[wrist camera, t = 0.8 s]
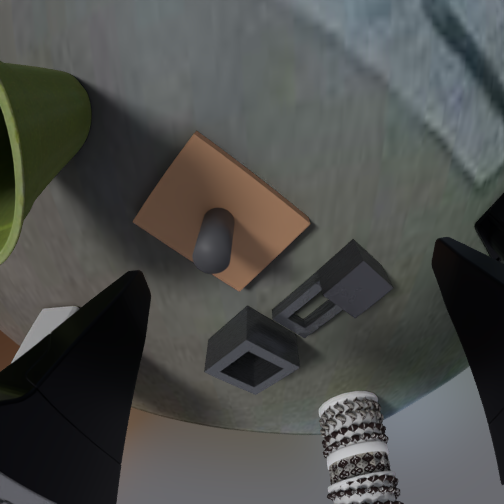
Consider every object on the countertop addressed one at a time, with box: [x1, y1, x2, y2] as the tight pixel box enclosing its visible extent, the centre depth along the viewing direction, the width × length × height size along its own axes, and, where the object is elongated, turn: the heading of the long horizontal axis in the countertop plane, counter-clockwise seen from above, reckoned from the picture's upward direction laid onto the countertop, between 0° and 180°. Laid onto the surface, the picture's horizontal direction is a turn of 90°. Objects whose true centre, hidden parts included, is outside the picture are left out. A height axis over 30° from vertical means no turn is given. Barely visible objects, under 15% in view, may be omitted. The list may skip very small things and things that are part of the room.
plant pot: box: [0, 61, 91, 265], centre depth 13 cm, size 12×12×11 cm
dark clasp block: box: [272, 239, 393, 338], centre depth 25 cm, size 4×10×3 cm, turn 140°
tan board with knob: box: [133, 131, 310, 292], centre depth 21 cm, size 10×8×6 cm
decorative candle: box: [319, 391, 404, 504], centre depth 28 cm, size 9×9×25 cm
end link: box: [204, 306, 300, 395], centre depth 28 cm, size 6×6×4 cm
